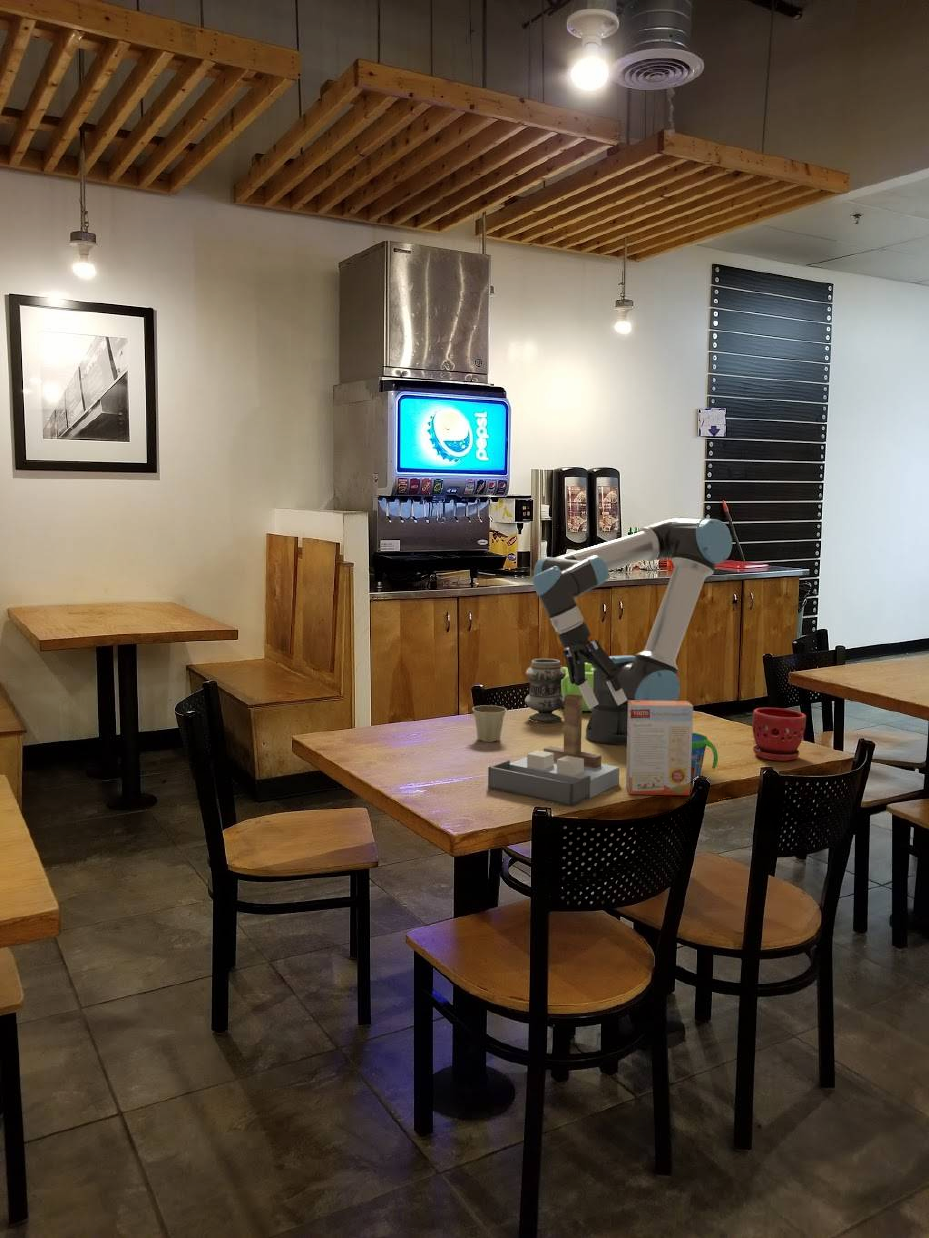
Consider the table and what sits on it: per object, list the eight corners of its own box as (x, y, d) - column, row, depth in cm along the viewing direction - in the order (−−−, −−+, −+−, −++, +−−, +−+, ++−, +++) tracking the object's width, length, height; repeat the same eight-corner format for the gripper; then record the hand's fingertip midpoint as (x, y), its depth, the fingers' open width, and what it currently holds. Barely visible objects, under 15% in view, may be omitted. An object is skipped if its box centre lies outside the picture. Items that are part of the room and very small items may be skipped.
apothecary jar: (547, 713, 309) (549, 655, 307) (573, 720, 299) (575, 661, 297) (516, 717, 303) (517, 659, 300) (541, 725, 293) (543, 664, 290)
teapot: (556, 713, 310) (557, 667, 308) (558, 700, 330) (559, 656, 328) (617, 715, 308) (619, 669, 306) (615, 702, 328) (617, 658, 326)
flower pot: (511, 742, 273) (512, 711, 272) (479, 745, 269) (480, 713, 268) (497, 734, 282) (498, 704, 281) (466, 737, 278) (467, 706, 277)
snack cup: (643, 777, 240) (645, 735, 239) (662, 768, 249) (664, 727, 248) (705, 789, 231) (707, 746, 230) (723, 779, 240) (725, 737, 239)
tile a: (537, 762, 237) (537, 750, 237) (553, 765, 235) (553, 753, 234) (527, 766, 234) (527, 753, 233) (543, 769, 231) (543, 757, 231)
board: (538, 767, 248) (539, 752, 247) (618, 783, 235) (619, 767, 234) (507, 780, 236) (507, 763, 236) (589, 797, 223) (590, 780, 223)
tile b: (566, 768, 233) (566, 755, 232) (583, 771, 230) (584, 758, 230) (556, 772, 229) (556, 759, 229) (573, 775, 227) (574, 762, 226)
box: (507, 780, 236) (507, 759, 236) (589, 797, 223) (590, 776, 223) (488, 788, 230) (488, 767, 229) (571, 806, 217) (572, 784, 216)
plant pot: (789, 766, 252) (791, 719, 250) (741, 756, 261) (743, 711, 259) (812, 757, 261) (815, 711, 260) (765, 747, 270) (767, 704, 269)
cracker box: (685, 788, 231) (689, 699, 229) (690, 796, 225) (694, 705, 223) (624, 787, 232) (627, 698, 229) (628, 795, 226) (631, 704, 223)
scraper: (549, 755, 243) (551, 691, 241) (601, 765, 235) (603, 698, 233) (543, 758, 241) (544, 693, 239) (594, 768, 233) (596, 700, 231)
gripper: (535, 640, 257) (571, 714, 258) (584, 626, 234) (623, 708, 235) (558, 628, 260) (593, 701, 261) (608, 613, 238) (647, 693, 238)
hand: (608, 704), depth 248 cm, fingers open, 13 cm apart
